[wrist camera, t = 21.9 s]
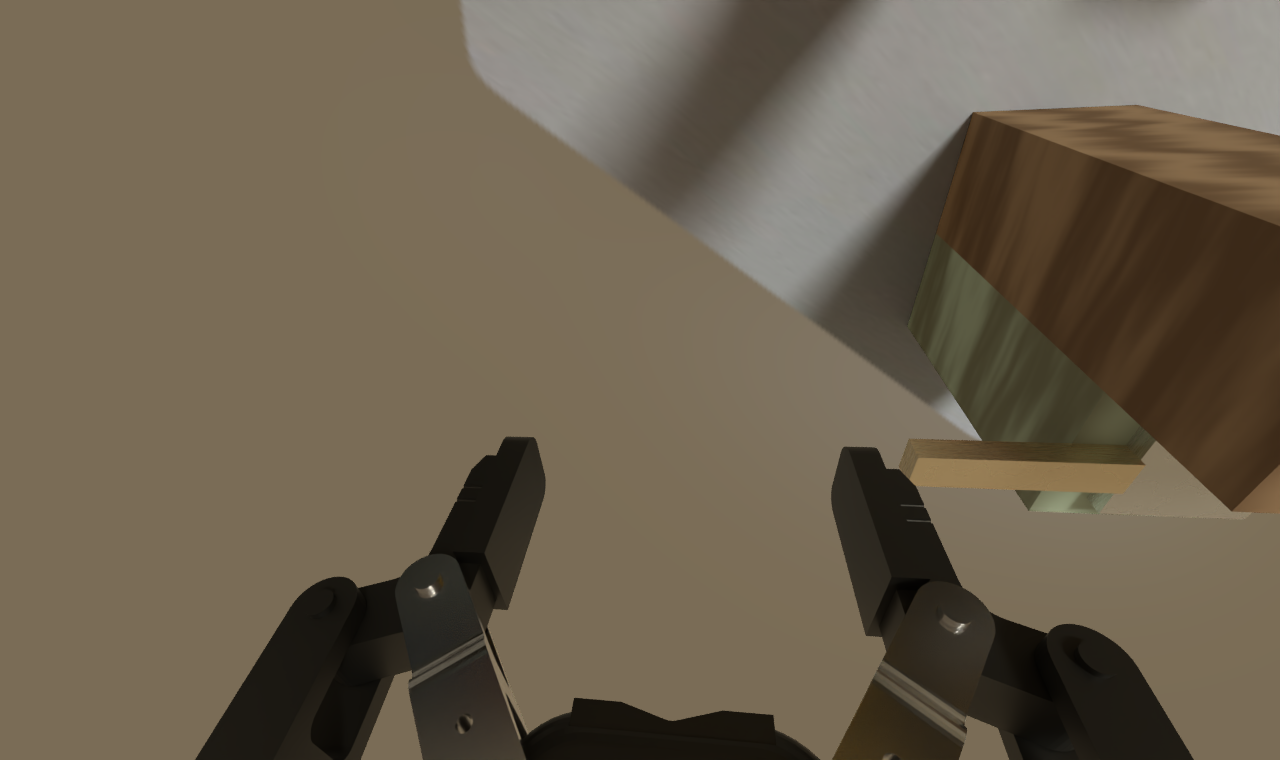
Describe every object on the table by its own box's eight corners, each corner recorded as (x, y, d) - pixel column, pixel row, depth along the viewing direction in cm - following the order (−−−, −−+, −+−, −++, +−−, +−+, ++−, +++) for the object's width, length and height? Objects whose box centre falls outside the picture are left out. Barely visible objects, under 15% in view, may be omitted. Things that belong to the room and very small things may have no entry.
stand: (907, 326, 52) (1108, 632, 26) (973, 112, 40) (1456, 291, 14) (1030, 326, 50) (1368, 648, 25) (1137, 105, 39) (1988, 288, 13)
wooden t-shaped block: (889, 490, 33) (897, 509, 32) (920, 409, 29) (930, 428, 27) (1227, 503, 31) (1250, 525, 29) (1312, 418, 26) (1343, 439, 25)
